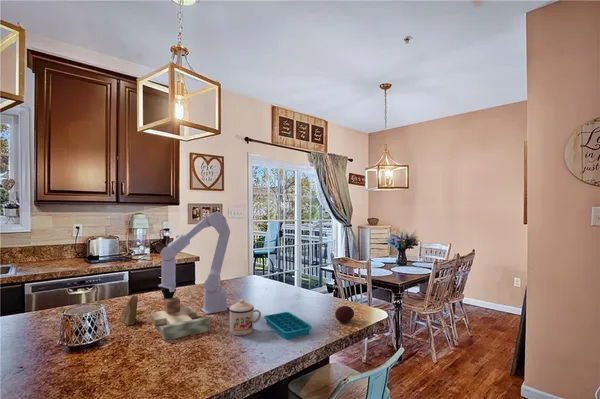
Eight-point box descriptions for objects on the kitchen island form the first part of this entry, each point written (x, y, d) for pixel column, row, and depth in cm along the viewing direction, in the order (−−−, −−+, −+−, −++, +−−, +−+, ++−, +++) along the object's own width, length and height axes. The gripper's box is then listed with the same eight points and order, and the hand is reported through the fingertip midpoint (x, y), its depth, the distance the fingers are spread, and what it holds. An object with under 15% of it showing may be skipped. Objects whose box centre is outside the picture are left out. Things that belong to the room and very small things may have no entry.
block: (176, 308, 139) (177, 297, 139) (179, 311, 134) (180, 299, 135) (164, 310, 136) (164, 299, 136) (167, 314, 132) (167, 301, 132)
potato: (357, 320, 131) (357, 305, 131) (345, 326, 124) (345, 311, 124) (342, 316, 136) (342, 302, 136) (329, 322, 129) (329, 307, 129)
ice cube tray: (285, 342, 111) (285, 333, 111) (262, 323, 129) (262, 316, 129) (313, 335, 117) (313, 327, 117) (288, 318, 134) (288, 311, 134)
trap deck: (189, 311, 142) (189, 301, 142) (209, 330, 121) (209, 318, 121) (150, 319, 133) (150, 308, 133) (164, 340, 112) (164, 327, 112)
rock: (140, 319, 126) (149, 308, 136) (125, 303, 124) (135, 293, 134) (118, 336, 125) (127, 324, 135) (102, 320, 124) (114, 309, 134)
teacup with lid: (231, 337, 114) (231, 304, 114) (227, 328, 122) (227, 298, 123) (264, 332, 119) (264, 300, 119) (257, 324, 127) (257, 294, 127)
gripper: (155, 272, 145) (155, 302, 145) (162, 278, 133) (162, 311, 133) (171, 270, 149) (171, 299, 149) (180, 275, 137) (179, 307, 137)
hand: (168, 304), depth 141 cm, fingers closed
